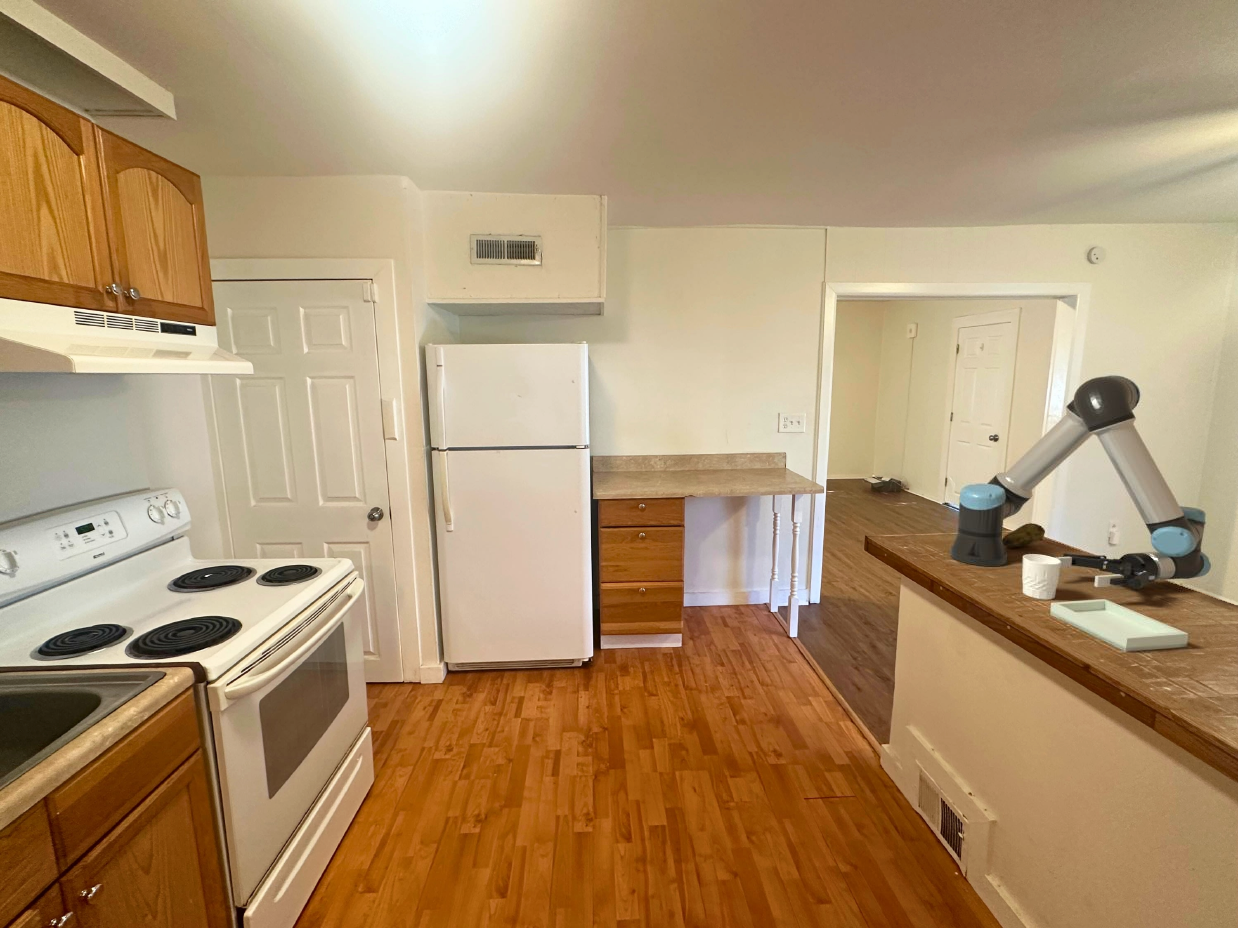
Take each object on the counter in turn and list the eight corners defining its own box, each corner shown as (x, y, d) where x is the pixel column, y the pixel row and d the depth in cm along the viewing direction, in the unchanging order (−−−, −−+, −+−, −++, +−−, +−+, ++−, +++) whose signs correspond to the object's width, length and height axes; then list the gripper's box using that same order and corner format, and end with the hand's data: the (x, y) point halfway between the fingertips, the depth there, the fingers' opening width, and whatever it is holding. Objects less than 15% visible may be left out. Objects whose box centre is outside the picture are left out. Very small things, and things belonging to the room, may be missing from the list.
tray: (1050, 614, 128) (1051, 602, 128) (1103, 610, 129) (1104, 598, 129) (1125, 651, 111) (1127, 638, 110) (1186, 646, 111) (1188, 633, 111)
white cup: (1064, 601, 135) (1068, 564, 133) (1029, 600, 137) (1033, 563, 135) (1046, 589, 143) (1049, 554, 141) (1013, 588, 144) (1016, 553, 143)
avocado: (994, 542, 182) (995, 520, 181) (1036, 543, 179) (1038, 521, 178) (1005, 550, 174) (1007, 526, 173) (1050, 551, 171) (1052, 528, 170)
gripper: (1197, 598, 129) (1117, 604, 127) (1097, 564, 153) (1029, 568, 152) (1201, 569, 128) (1121, 575, 126) (1100, 539, 152) (1032, 544, 151)
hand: (1071, 571), depth 139 cm, fingers open, 13 cm apart
